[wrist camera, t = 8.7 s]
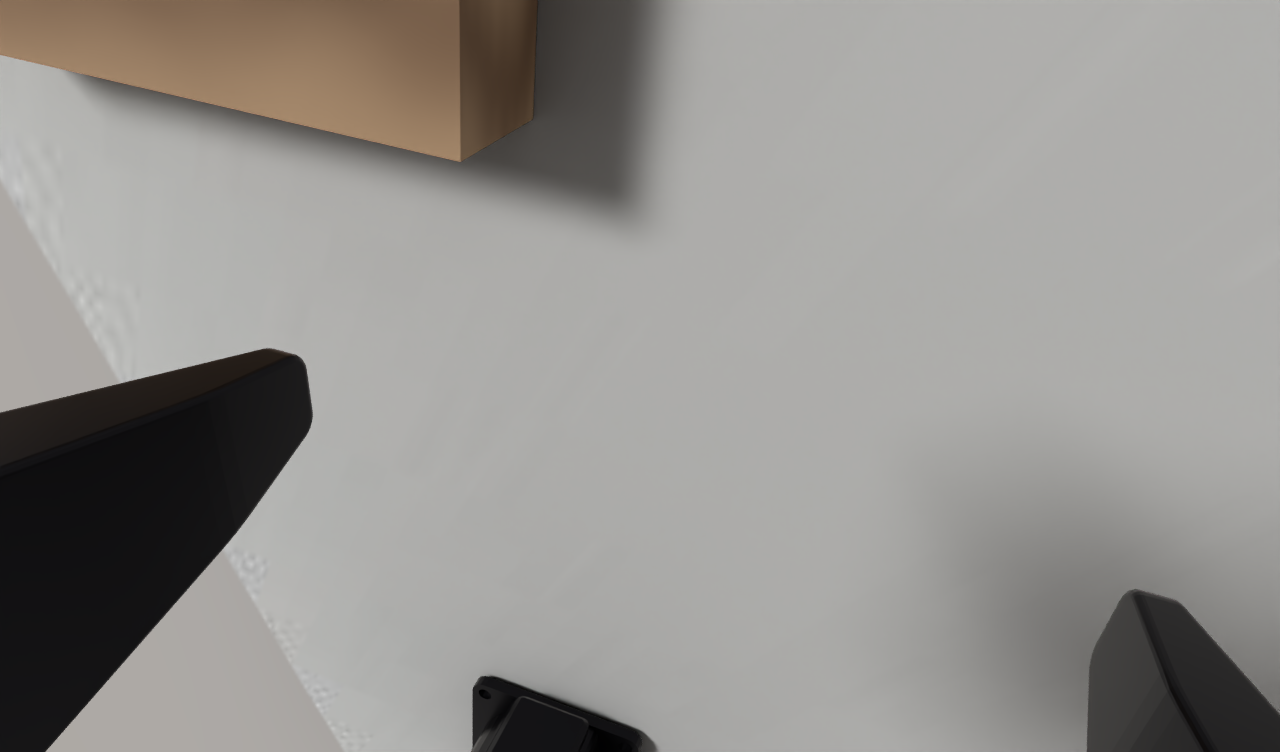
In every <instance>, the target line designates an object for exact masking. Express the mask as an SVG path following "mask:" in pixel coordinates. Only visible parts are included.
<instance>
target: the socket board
mask: <svg viewBox="0 0 1280 752" xmlns="http://www.w3.org/2000/svg"><path fill="white" fill-rule="evenodd" d="M537 4H538V0H0V55H3V56H8V57H12V58H16V59H20V60H25V61H29V62H33V63H38V64H42V65H46V66H50V67H55V68H59V69H63V70H68V71H72V72H76V73H80V74H85V75H89V76H93V77H98V78H102V79H106V80H111V81H115V82H119V83H123V84H128V85H132V86H136V87H141V88H145V89H149V90H153V91H158V92H162V93H166V94H171V95H175V96H179V97H183V98H188V99H192V100H196V101H201V102H205V103H209V104H214V105H218V106H222V107H226V108H231V109H235V110H239V111H244V112H248V113H252V114H256V115H261V116H265V117H269V118H274V119H278V120H282V121H287V122H291V123H295V124H299V125H304V126H308V127H312V128H317V129H321V130H325V131H329V132H334V133H338V134H342V135H347V136H351V137H355V138H359V139H364V140H368V141H372V142H377V143H381V144H385V145H390V146H394V147H398V148H402V149H407V150H411V151H415V152H420V153H424V154H428V155H432V156H437V157H441V158H445V159H450V160H454V161H458V162H461V161H463V160H465V159H466V158H468V157H470V156H472V155H473V154H475V153H477V152H478V151H480V150H482V149H483V148H485V147H487V146H489V145H490V144H492V143H494V142H495V141H497V140H499V139H500V138H502V137H504V136H505V135H507V134H509V133H511V132H512V131H514V130H516V129H517V128H519V127H521V126H522V125H524V124H526V123H527V122H529V121H531V120H533V106H534V81H535V55H536V29H537Z"/></svg>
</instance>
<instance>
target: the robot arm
mask: <svg viewBox="0 0 1280 752" xmlns="http://www.w3.org/2000/svg"><path fill="white" fill-rule="evenodd" d="M312 417H313V412H312V404H311V397H310V390H309V383H308V376H307V369H306V365H305V363H304V361H303V360H302V359H301V358H300V357H299V356H297V355H294V354H291V353H287V352H284V351H280V350H276V349H272V348H266V349H261V350H257V351H253V352H249V353H244V354H240V355H236V356H232V357H228V358H224V359H220V360H215V361H211V362H207V363H203V364H199V365H195V366H191V367H187V368H182V369H178V370H174V371H170V372H166V373H162V374H158V375H154V376H149V377H145V378H141V379H137V380H133V381H129V382H125V383H121V384H116V385H112V386H108V387H104V388H100V389H96V390H92V391H88V392H84V393H80V394H75V395H71V396H67V397H63V398H59V399H55V400H50V401H46V402H42V403H38V404H34V405H30V406H26V407H21V408H17V409H13V410H9V411H5V412H1V413H0V752H46V750H47V749H48V748H49V747H50V746H51V745H52V744H53V742H54V741H55V740H56V739H57V738H58V737H59V736H60V734H61V733H62V732H63V731H64V730H65V728H67V726H68V725H69V724H70V723H71V722H72V721H73V720H74V718H75V717H76V716H77V715H78V714H79V713H80V711H81V710H82V709H83V708H84V707H85V706H86V705H87V704H88V702H89V701H90V700H91V699H92V698H93V697H94V696H95V694H96V693H97V692H98V691H99V690H100V689H101V688H102V687H103V685H104V684H105V683H106V682H107V681H108V680H109V678H110V677H111V676H112V675H113V674H114V672H116V671H117V669H118V668H119V667H120V666H121V665H122V664H123V663H124V661H125V660H126V659H127V658H128V657H129V656H130V654H131V653H132V652H133V651H134V650H135V649H136V648H137V647H138V645H139V644H140V643H141V642H142V641H143V640H144V639H145V637H146V636H147V635H148V634H149V633H150V632H151V631H152V629H153V628H154V627H155V626H156V625H157V624H158V623H159V621H160V620H161V619H162V618H163V617H164V616H165V615H166V613H167V612H168V611H169V610H170V609H171V608H172V607H173V605H174V604H175V603H176V602H177V601H178V600H179V599H180V597H181V596H182V595H183V594H184V593H185V592H186V591H187V589H188V588H189V587H190V586H191V585H192V584H193V583H194V581H195V580H196V579H197V578H198V577H199V576H200V575H201V573H202V572H203V571H204V570H205V569H206V568H207V566H208V565H209V564H210V563H211V562H212V561H213V560H214V559H215V557H216V556H217V555H218V554H219V553H220V552H221V551H222V549H223V548H224V547H225V546H226V545H227V544H228V542H229V541H230V540H231V539H232V538H233V536H234V535H235V534H236V533H237V531H238V530H239V529H240V527H241V526H242V525H243V523H244V522H245V521H246V519H247V518H248V517H249V515H250V514H251V513H252V511H253V510H254V508H255V507H256V506H257V504H258V503H259V501H260V500H261V499H262V497H263V496H264V494H265V493H266V492H267V490H268V489H269V487H270V486H271V485H272V483H273V482H274V480H275V479H276V477H277V476H278V475H279V473H280V472H281V470H282V469H283V468H284V466H285V465H286V463H287V462H288V461H289V459H290V458H291V456H292V455H293V454H294V452H295V451H296V449H297V448H298V447H299V445H300V444H301V442H302V441H303V439H304V438H305V437H306V435H307V433H308V431H309V429H310V427H311V423H312ZM641 748H642V739H641V737H640V736H639V735H638V734H637V733H636V732H634V731H632V730H630V729H627V728H625V727H622V726H619V725H617V724H614V723H611V722H608V721H606V720H603V719H600V718H598V717H595V716H592V715H590V714H587V713H584V712H582V711H579V710H576V709H574V708H571V707H568V706H566V705H563V704H560V703H558V702H555V701H552V700H550V699H547V698H544V697H542V696H539V695H536V694H534V693H531V692H528V691H526V690H523V689H520V688H518V687H515V686H512V685H510V684H507V683H504V682H501V681H499V680H496V679H493V678H491V677H487V676H482V677H480V678H479V679H478V680H477V682H476V684H475V685H474V687H473V749H472V751H471V752H641ZM1087 752H1280V714H1279V713H1278V712H1277V711H1276V709H1275V708H1274V707H1273V706H1272V705H1271V704H1270V703H1269V702H1268V700H1267V699H1266V698H1265V697H1264V696H1263V695H1262V694H1261V693H1260V691H1259V690H1258V689H1257V688H1256V687H1255V686H1254V685H1253V684H1252V682H1251V681H1250V680H1249V679H1248V678H1247V677H1246V676H1245V675H1244V673H1243V672H1242V671H1241V670H1240V669H1239V668H1238V667H1237V666H1236V664H1235V663H1234V662H1233V661H1232V660H1231V659H1230V658H1229V657H1228V655H1227V654H1226V653H1225V652H1224V651H1223V650H1222V649H1221V648H1220V646H1219V645H1218V644H1217V643H1216V642H1215V641H1214V640H1213V639H1212V638H1211V636H1210V635H1209V634H1208V633H1207V632H1206V631H1205V630H1204V629H1203V627H1202V626H1201V625H1200V624H1199V623H1198V622H1197V621H1196V620H1195V618H1194V617H1193V616H1192V615H1191V614H1190V613H1189V612H1188V611H1187V609H1186V608H1185V607H1184V606H1183V605H1182V604H1180V603H1179V602H1178V601H1176V600H1174V599H1171V598H1167V597H1163V596H1160V595H1156V594H1153V593H1149V592H1145V591H1142V590H1138V589H1134V590H1131V591H1128V592H1127V593H1126V594H1125V595H1124V596H1123V597H1122V598H1121V600H1120V601H1119V603H1118V605H1117V607H1116V609H1115V610H1114V612H1113V614H1112V616H1111V618H1110V620H1109V621H1108V623H1107V625H1106V627H1105V629H1104V631H1103V632H1102V634H1101V636H1100V638H1099V640H1098V642H1097V643H1096V646H1095V648H1094V650H1093V653H1092V657H1091V662H1090V669H1089V696H1088V728H1087Z"/></svg>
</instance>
